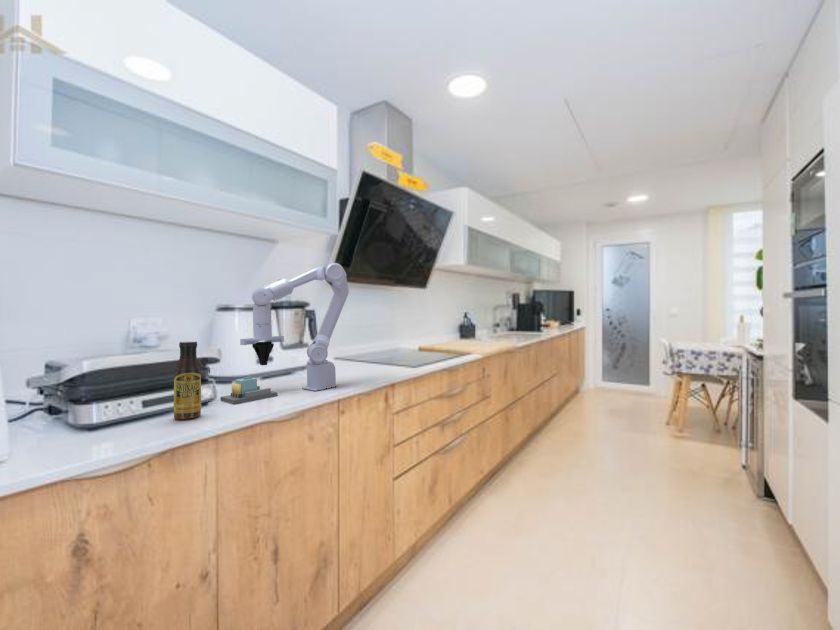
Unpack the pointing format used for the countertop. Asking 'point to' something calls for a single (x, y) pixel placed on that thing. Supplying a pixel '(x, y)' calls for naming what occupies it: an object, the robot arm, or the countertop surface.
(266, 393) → the header board
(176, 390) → the sauce bottle
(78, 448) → the countertop surface
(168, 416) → the countertop surface
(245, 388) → the plug block
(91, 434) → the countertop surface
